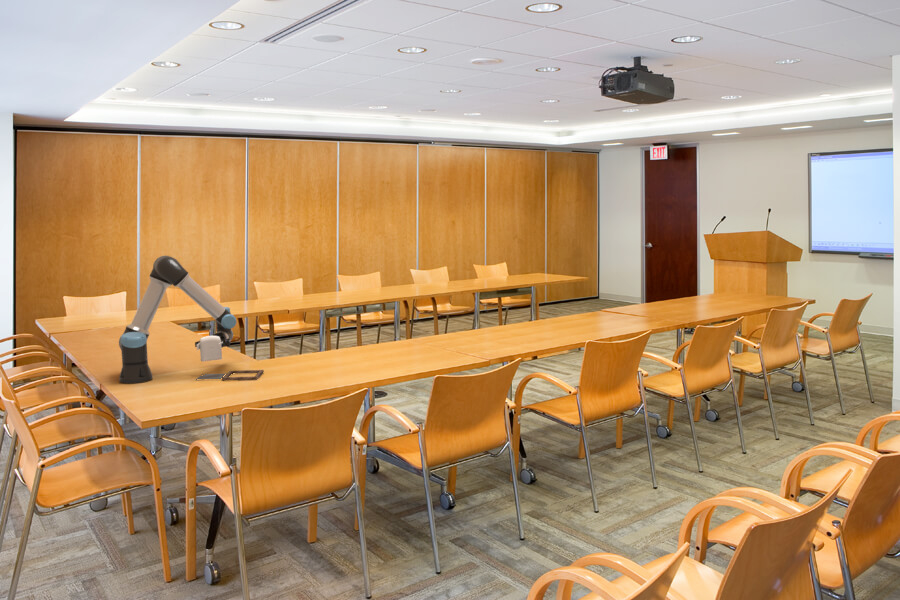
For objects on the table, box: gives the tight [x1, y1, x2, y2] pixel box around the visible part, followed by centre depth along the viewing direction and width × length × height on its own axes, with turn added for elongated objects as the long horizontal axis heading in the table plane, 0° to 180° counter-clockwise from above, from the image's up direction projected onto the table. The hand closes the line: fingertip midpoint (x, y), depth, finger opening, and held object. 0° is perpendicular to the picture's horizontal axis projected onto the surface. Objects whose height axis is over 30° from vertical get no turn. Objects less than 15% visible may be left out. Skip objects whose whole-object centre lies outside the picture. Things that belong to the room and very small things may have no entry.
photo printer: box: [199, 335, 223, 362], centre depth 368 cm, size 10×4×12 cm, turn 115°
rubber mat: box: [195, 373, 226, 381], centre depth 369 cm, size 12×12×1 cm
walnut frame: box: [221, 369, 265, 381], centre depth 370 cm, size 17×17×2 cm
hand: (208, 346), depth 363 cm, fingers closed on photo printer, 10 cm apart
